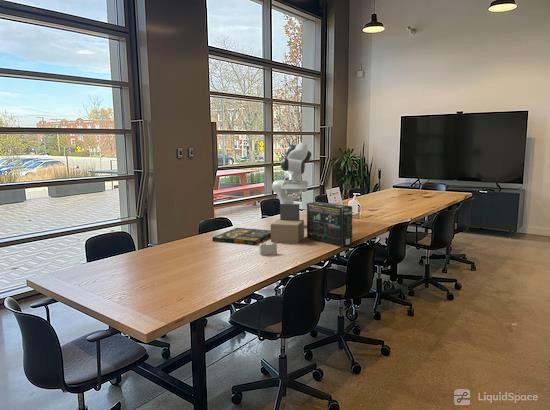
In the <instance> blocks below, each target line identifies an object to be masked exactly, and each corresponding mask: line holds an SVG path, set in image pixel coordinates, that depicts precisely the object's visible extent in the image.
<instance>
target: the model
mask: <svg viewBox="0 0 550 410" xmlns="http://www.w3.org/2000/svg"><path fill="white" fill-rule="evenodd" d="M277 245H278V244H277V242H273V244H271V243H270V244H267V243H266V242H261V243H259V255H260V256H266V255H275V254H276V255H277V254H278V246H277Z"/></svg>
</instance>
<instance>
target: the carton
mask: <svg viewBox="0 0 550 410" xmlns="http://www.w3.org/2000/svg"><path fill="white" fill-rule="evenodd" d="M270 230H271V237H270V243H281V244H282V243H283V244H287V243H288V244H299V243H300V242H301V241H302V240H303V239H304V237H305V221H303V222H302V223H301V224H300V225H299V226H271V225H270Z"/></svg>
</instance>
